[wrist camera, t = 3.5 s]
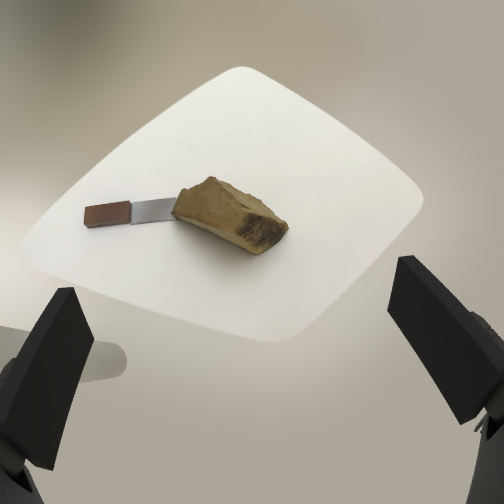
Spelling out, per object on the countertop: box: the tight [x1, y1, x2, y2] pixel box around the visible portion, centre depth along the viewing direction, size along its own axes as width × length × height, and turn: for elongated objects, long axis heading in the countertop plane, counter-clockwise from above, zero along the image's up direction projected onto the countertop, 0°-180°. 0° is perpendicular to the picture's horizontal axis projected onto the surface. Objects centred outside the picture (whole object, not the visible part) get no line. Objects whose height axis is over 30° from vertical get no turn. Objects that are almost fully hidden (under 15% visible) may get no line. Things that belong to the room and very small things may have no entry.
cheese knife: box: [84, 197, 177, 228], centre depth 30 cm, size 10×2×1 cm, turn 96°
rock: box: [170, 176, 289, 255], centre depth 28 cm, size 11×9×10 cm
